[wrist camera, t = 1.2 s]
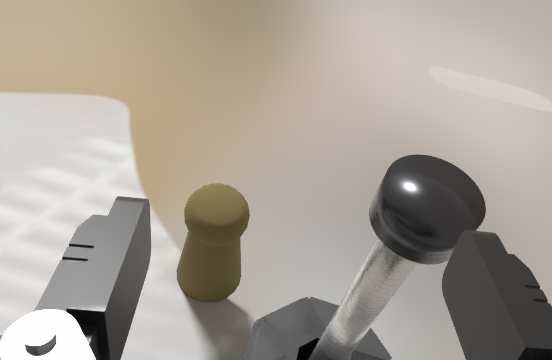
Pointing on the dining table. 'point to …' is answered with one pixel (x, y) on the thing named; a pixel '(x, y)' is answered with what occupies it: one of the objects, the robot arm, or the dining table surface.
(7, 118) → the dining table surface
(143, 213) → the robot arm
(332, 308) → the coffee press
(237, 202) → the cork
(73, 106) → the dining table surface
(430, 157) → the plunger
